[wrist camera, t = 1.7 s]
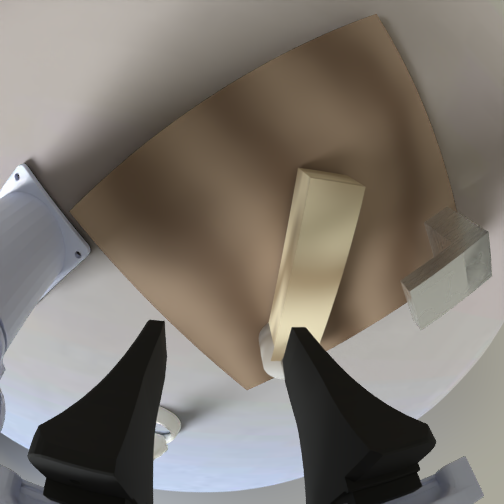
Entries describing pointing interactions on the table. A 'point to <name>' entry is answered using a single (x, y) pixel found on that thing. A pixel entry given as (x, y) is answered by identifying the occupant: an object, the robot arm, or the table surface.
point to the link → (311, 259)
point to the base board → (275, 194)
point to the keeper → (448, 267)
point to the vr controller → (171, 424)
